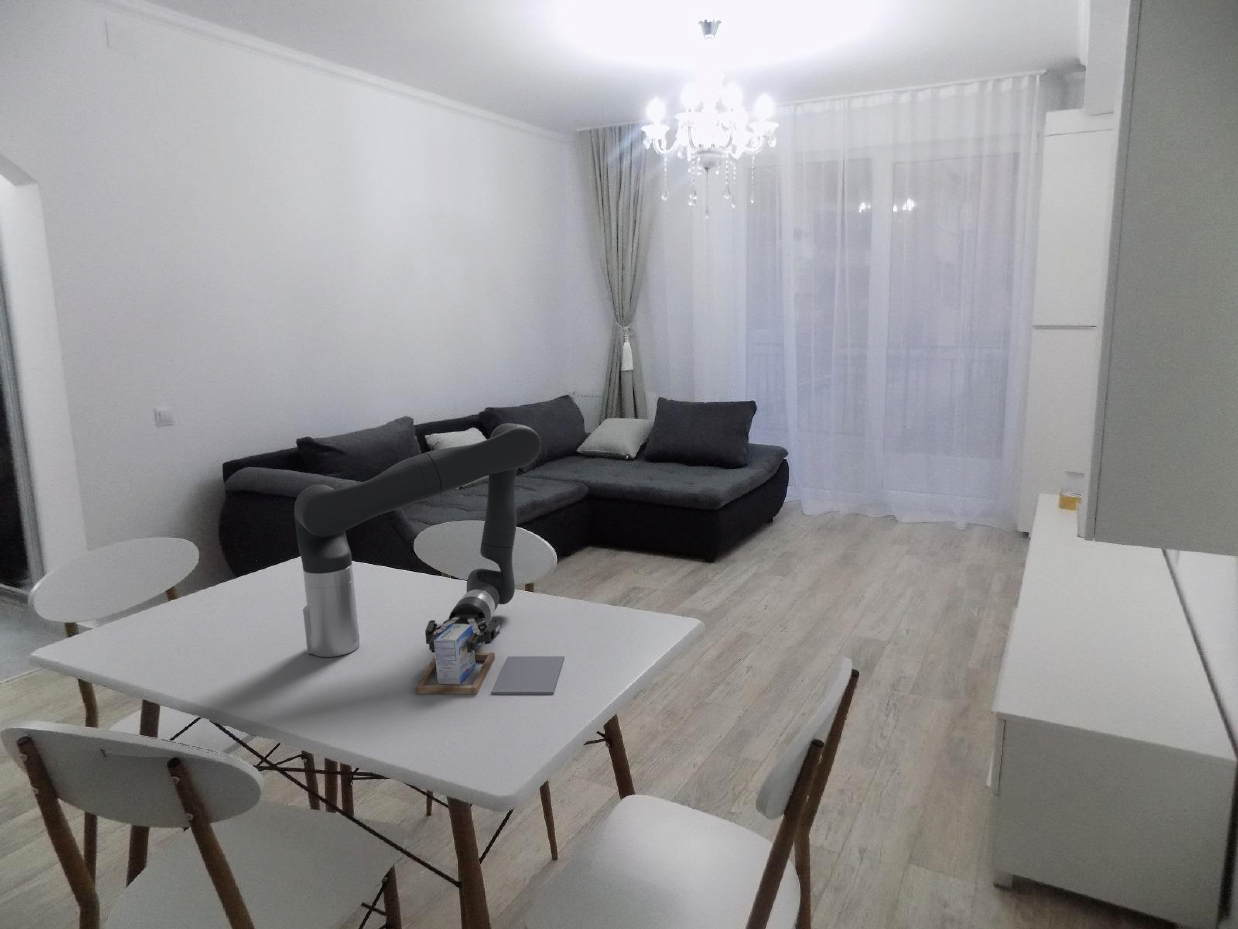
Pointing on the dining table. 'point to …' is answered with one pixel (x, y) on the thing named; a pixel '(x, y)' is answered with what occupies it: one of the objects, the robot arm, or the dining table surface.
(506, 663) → the charcoal mat
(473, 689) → the walnut tray
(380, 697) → the dining table surface
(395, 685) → the dining table surface
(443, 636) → the medicine box
